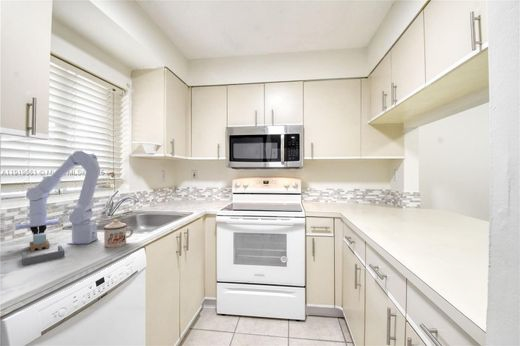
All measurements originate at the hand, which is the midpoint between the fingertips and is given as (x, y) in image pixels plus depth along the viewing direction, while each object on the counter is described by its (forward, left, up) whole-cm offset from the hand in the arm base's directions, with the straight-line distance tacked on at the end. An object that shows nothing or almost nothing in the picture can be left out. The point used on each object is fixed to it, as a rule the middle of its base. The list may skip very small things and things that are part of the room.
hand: (38, 242), depth 106 cm
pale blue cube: (-4, +5, +1) cm, 6 cm away
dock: (-16, +17, -1) cm, 23 cm away
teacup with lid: (-37, +2, -1) cm, 37 cm away
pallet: (-4, +4, -1) cm, 6 cm away
